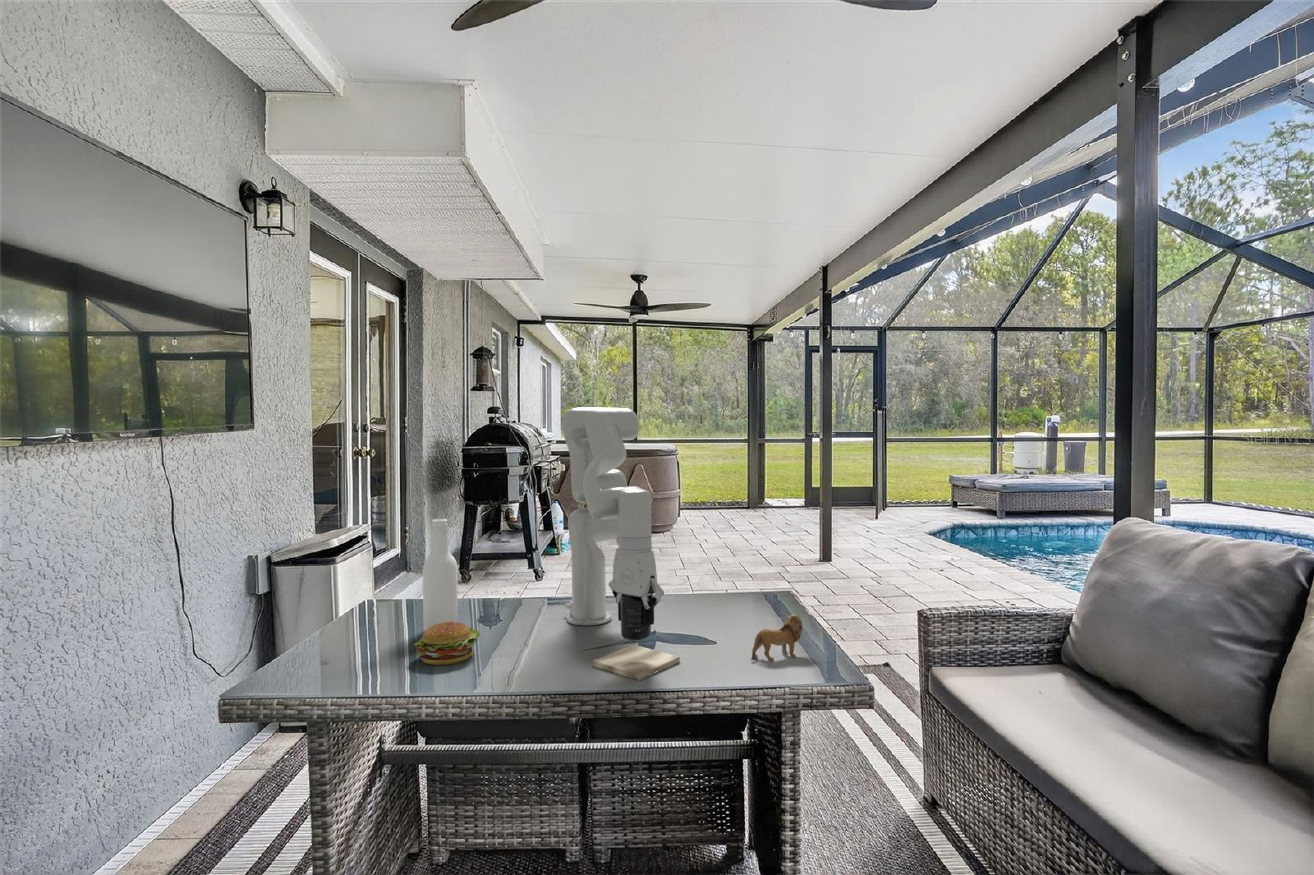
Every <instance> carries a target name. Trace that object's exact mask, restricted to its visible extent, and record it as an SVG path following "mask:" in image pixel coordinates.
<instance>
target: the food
mask: <svg viewBox="0 0 1314 875" xmlns="http://www.w3.org/2000/svg"><path fill="white" fill-rule="evenodd" d="M479 636H480V632H479V631H478V630H476V629H473V628H471V627H469V626H467V624H465V623H463V622H459V621H458V622H444V623H440V624H436V625H433V626H431V627H430V628H428V629H427V630H426V631H424V632H423V633H422V637H421V638H419V640H418V641H417V642H415V643H414V646H416V649H417V651H416V654H417V656H419V657H420V659H421V661H422V662H423V663H424V664H428V665H433V666H445V665H451V664H457V663H460V662H463V661H466V660H468V659H469V658H470V657H472V655H473V653H474V651H473V647H474V646H475V644H476V643H477V640H478V639H479Z"/></svg>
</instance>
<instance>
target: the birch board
mask: <svg viewBox="0 0 1314 875" xmlns="http://www.w3.org/2000/svg"><path fill="white" fill-rule="evenodd" d="M676 662H679V663H680V656H679V655H675V654H670V653H666V652H664V651H663V652H662V651H659V650H656V649H652V648H648V647H644V646H641V645H636V644H632V645H630V646H627V647H624V648H622V649H619V650H616V651H615V652H614V651H613V652H611V653H609V654H606V655H604V656H602V657H598V658H596V659H594V660H592V667H595V668H598V669H601V670H604V671H607V672H610V673H614V674H617V675H620V676H623V677H626V676H628V677H627V678H629V677H631V678H630V679H632V678H634V679H633V680H635V679H637V680H636V681H641V680H643V679H642V678H644V677H646V676H648V677H650V676H651V675H650V674H652V675H654V674H653V673H654V672H656V671H659V672H661V671H663V670H662V669H664V668H666V667H668V668H670V667H671V666H670V665H672V664H674V663H676ZM669 666H670V667H669ZM672 666H673V665H672ZM666 669H667V668H666ZM660 670H661V671H660ZM664 670H665V669H664ZM649 675H650V676H649ZM646 678H647V677H646ZM640 679H641V680H640ZM644 679H645V678H644Z"/></svg>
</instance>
